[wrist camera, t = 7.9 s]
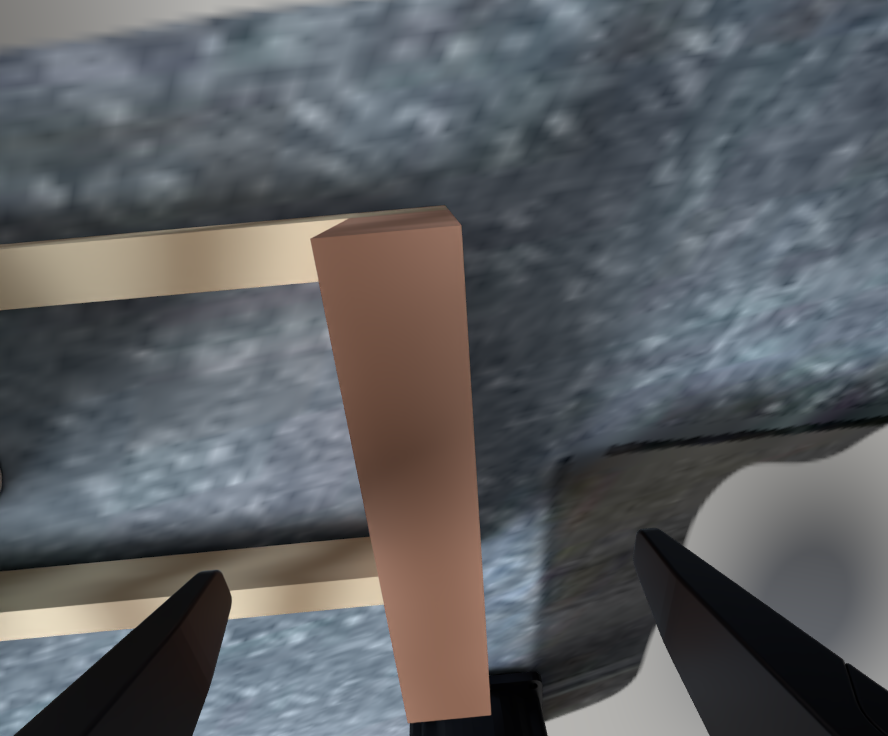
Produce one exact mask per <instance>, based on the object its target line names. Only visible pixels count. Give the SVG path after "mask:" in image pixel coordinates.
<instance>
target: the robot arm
mask: <svg viewBox="0 0 888 736" xmlns="http://www.w3.org/2000/svg"><path fill="white" fill-rule="evenodd" d="M633 561H634V566H635V569H636V572H637V575H638V577H639V580H640V582H641V585H642V588H643V590H644V593H645V596H646V598H647V601H648V603H649V606H650V609H651V611H652V614H653V617H654V619H655V622H656V624H657V627H658V630H659V632H660V635H661V637H662V639H663V642H664V644H665V646H666V648H667V650H668V652H669V654H670V657H671V659H672V661H673V663H674V664H675V667H676V669H677V671H678V673H679V674H680V677H681V679H682V681H683V683H684V685H685V687H686V689H687V691H688V693H689V695H690V697H691V699H692V701H693V703H694V705H695V707H696V709H697V711H698V713H699V715H700V717H701V719H702V721H703V723H704V725H705V727H706V729H707V731H708V733H709V735H710V736H888V691H887V690H886V689H885V688H883V687H882V686H880V685H879V684H877V683H876V682H875V681H873V680H871V679H870V678H869V677H868V676H866V675H865V674H863V673H862V672H860V671H859V670H858V669H856V668H855V667H853V666H852V665H851V664H849V663H846V664H845V662H844V660H843V659H842V658H840V657H839V656H838V655H836V654H835V653H833V652H832V651H831V650H829V649H828V648H826V647H825V646H823V645H822V644H821V643H819V642H818V641H817V640H815V639H814V638H812V637H811V636H809V635H808V634H807V633H805V632H804V631H802V630H801V629H799V628H798V627H797V626H795V625H794V624H793V623H791V622H790V621H788V620H787V619H785V618H784V617H783V616H781V615H780V614H778V613H777V612H775V611H774V610H773V609H771V608H770V607H769V606H767V605H766V604H764V603H763V602H761V601H760V600H759V599H757V598H756V597H754V596H753V595H752V594H750V593H749V592H747V591H746V590H744V589H743V588H742V587H740V586H739V585H738V584H736V583H735V582H733V581H732V580H730V579H729V578H727V577H726V576H725V575H723V574H722V573H721V572H719V571H718V570H716V569H715V568H714V567H712V566H711V565H709V564H708V563H706V562H705V561H704V560H702V559H701V558H699V557H698V556H697V555H695V554H694V553H692V552H691V551H690V550H688V549H687V548H685V547H684V546H683V545H681V544H680V543H678V542H677V541H676V540H674V539H673V538H671V537H670V536H668V535H667V534H666V533H664V532H663V531H661V530H660V529H657V528H649V529H640V530H638V532H637V534H636V540H635V547H634V554H633ZM231 606H232V596H231V593H230V590H229V588H228V585H227V583H226V581H225V578H224V576H223V573H222V572H221V571H220V570H207V571H201V572H199V573H197V574H196V575H194V576H193V577H192V578H191V579H190V580H189V581H188V582H187V583H185V584H184V585H183V586H182V587H181V588H180V589H179V590H177V591H176V592H175V593H174V594H173V595H172V596H171V597H170V598H168V599H167V600H166V601H165V602H164V603H163V604H162V605H161V606H159V607H158V608H157V609H156V610H155V611H154V612H153V613H152V614H150V615H149V616H148V617H147V618H146V619H145V620H144V621H142V622H141V623H140V624H139V625H138V626H137V627H136V628H135V629H133V630H132V631H131V632H130V633H129V634H128V635H127V636H126V637H124V638H123V639H122V640H121V641H120V642H119V643H118V644H116V645H115V646H114V647H113V648H112V649H111V650H110V651H109V652H107V653H106V654H105V655H104V656H103V657H102V658H101V659H100V660H98V661H97V662H96V663H95V664H94V665H93V666H92V667H91V668H89V669H88V670H87V671H86V672H85V673H84V674H83V675H81V676H80V677H79V678H78V679H77V680H76V681H75V682H74V683H72V684H71V685H70V686H69V687H68V688H67V689H66V690H65V691H63V692H62V693H61V694H60V695H59V696H58V697H57V698H55V699H54V700H53V701H52V702H51V703H50V704H49V705H48V706H46V707H45V708H44V709H43V710H42V711H41V712H40V713H39V714H37V715H36V716H35V717H34V718H33V719H32V720H31V721H30V722H28V723H27V724H26V725H25V726H24V727H23V728H22V729H20V730H19V731H18V732H17V733H16V734H15V735H14V736H192V735H193V732H194V730H195V727H196V724H197V721H198V719H199V716H200V713H201V710H202V708H203V705H204V702H205V699H206V696H207V694H208V691H209V688H210V685H211V681H212V678H213V674H214V671H215V667H216V663H217V659H218V656H219V652H220V648H221V644H222V640H223V637H224V633H225V629H226V625H227V622H228V618H229V614H230V610H231ZM489 687H490V704H491V715H488V716H477V717H467V718H457V719H447V720H436V721H426V722H416V723H410V736H548V735H547V731H546V726H545V722H544V717H543V713H542V692H543V684H542V680H541V676H540V674H539V673H537V672H524V673H513V674H503V675H493V676H489Z"/></svg>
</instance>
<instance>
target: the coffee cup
mask: <svg viewBox="0 0 888 736" xmlns="http://www.w3.org/2000/svg"><path fill="white" fill-rule="evenodd" d="M1 487H2V474H1V470H0V491H1Z"/></svg>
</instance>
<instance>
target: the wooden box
mask: <svg viewBox="0 0 888 736" xmlns="http://www.w3.org/2000/svg"><path fill="white" fill-rule="evenodd" d="M309 282H319V286H320V291H321V296H322V300H323V305H324V310H325V315H326V320H327V325H328V330H329V335H330V340H331V345H332V350H333V355H334V360H335V365H336V370H337V375H338V380H339V385H340V390H341V395H342V399H343V404H344V409H345V414H346V419H347V424H348V429H349V434H350V439H351V444H352V449H353V454H354V459H355V464H356V469H357V474H358V479H359V484H360V489H361V494H362V498H363V503H364V508H365V513H366V518H367V523H368V528H369V533H370V537H360V538H350V539H339V540H329V541H318V542H307V543H297V544H286V545H276V546H265V547H254V548H244V549H233V550H223V551H212V552H202V553H191V554H180V555H170V556H159V557H149V558H138V559H127V560H117V561H106V562H96V563H85V564H74V565H64V566H53V567H43V568H32V569H22V570H11V571H0V641H6V640H17V639H27V638H38V637H48V636H59V635H69V634H80V633H90V632H100V631H111V630H121V629H132V628H136V627H137V626H138V625H139V624H140V623H141V622H142V621H144V620H145V619H146V618H147V617H148V616H149V615H150V614H152V613H153V612H154V611H155V610H156V609H157V608H158V607H159V606H161V605H162V604H163V603H164V602H165V601H166V600H167V599H168V598H170V597H171V596H172V595H173V594H174V593H175V592H176V591H177V590H179V589H180V588H181V587H182V586H183V585H184V584H185V583H187V582H188V581H189V580H190V579H191V578H192V577H193V576H194V575H196V574H197V573H199V572H201V571H207V570H220V571H221V572H222V573H223V576H224V578H225V581H226V583H227V585H228V588H229V590H230V593H231V596H232V606H231V610H230V614H229V618H228V619H236V618H247V617H257V616H268V615H278V614H289V613H299V612H310V611H320V610H330V609H341V608H351V607H362V606H372V605H383V604H384V607H385V612H386V617H387V622H388V627H389V632H390V637H391V642H392V647H393V652H394V657H395V662H396V667H397V672H398V677H399V682H400V687H401V692H402V697H403V701H404V706H405V711H406V716H407V721H408V723H416V722H426V721H436V720H447V719H457V718H467V717H477V716H488V715H491V704H490V687H489V671H488V654H487V638H486V621H485V605H484V589H483V572H482V556H481V539H480V523H479V506H478V490H477V473H476V457H475V441H474V424H473V408H472V391H471V375H470V358H469V342H468V326H467V309H466V293H465V276H464V260H463V243H462V227H461V224H460V223H459V222H458V221H457V219H456V218H455V217H454V216H453V214H452V213H451V212H450V211H449V210H448V208H447V207H446V206H445V205H440V206H429V207H418V208H407V209H395V210H384V211H373V212H361V213H350V214H339V215H328V216H316V217H305V218H294V219H283V220H271V221H260V222H249V223H238V224H226V225H215V226H204V227H193V228H181V229H170V230H159V231H148V232H136V233H125V234H114V235H103V236H91V237H80V238H69V239H57V240H46V241H35V242H24V243H12V244H1V245H0V310H9V309H20V308H31V307H42V306H53V305H64V304H76V303H87V302H98V301H109V300H120V299H131V298H142V297H153V296H165V295H176V294H187V293H198V292H209V291H220V290H231V289H242V288H254V287H265V286H276V285H287V284H298V283H309Z"/></svg>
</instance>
